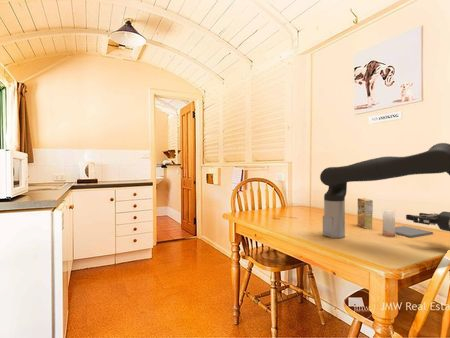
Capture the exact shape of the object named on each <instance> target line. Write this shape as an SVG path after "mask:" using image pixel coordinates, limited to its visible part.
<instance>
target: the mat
mask: <svg viewBox="0 0 450 338" xmlns="http://www.w3.org/2000/svg"><path fill="white" fill-rule="evenodd" d="M395 235H398V236H401V237H406V238H410V239H411V238H416V237H424V236H431V235H434V232H433V231H429V230H425V229H420V228H416V227H412V226H407V225H402V226H401V225H400V226H395Z"/></svg>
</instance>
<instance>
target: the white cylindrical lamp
mask: <svg viewBox="0 0 450 338" xmlns="http://www.w3.org/2000/svg"><path fill="white" fill-rule="evenodd" d="M395 227H396V210H393V209H383V210H382V236H384V237H388V238H389V237H390V238H394V237H396V234H395Z"/></svg>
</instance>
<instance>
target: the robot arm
mask: <svg viewBox="0 0 450 338" xmlns="http://www.w3.org/2000/svg"><path fill="white" fill-rule="evenodd" d="M442 173H443V174H444V173H447V174H448V175H449V176H450V143H446V142H440V143H439V142H438V143H436V144H433V145H432V146H430V148H428V150H427V151H423V152H421V153H416V154H411V155H407V156H380V157H376V158H375V157H374V158H371V159H370V158H369V159H367V160H362V161H359V162H356V163H352V164H348V165H343V166H329V167H326V168H324V169H323V170H322V171H321V172H320V174H319V178H320V181H321V183H322V184H323V185H325V186H328V190H327V191H326V192H325V193H324V196H323V205H324V206H323V215H322V235H323V236H325V237H327V238H330V239H333V238H334V239H340V238H341V239H342V238H345V237H346V235H345V234H346V220H345V219H346V211H345V210H346V207H345V206H346V204H345V203H346V200H345V199H346V195H347V188H348V187H347V186H348V185H347V184H348V183H349V182H350V183H351V182H373V181H381V180H382V181H384V180H388V179H396V178H401V177H406V176H413V175H425V174H426V175H427V174H430V175H431V174H432V175H433V174H442ZM405 219H406V220H408V221H412V222H413V223H414V224H416V223H417V224H422V225H427V226H429V225H433V226H436V225H437V227H438V229H440V230H441V231H444V232H450V211H441V212H439V213H435V212H434V213H424V212H419V214H418V215H415V214H406V215H405Z"/></svg>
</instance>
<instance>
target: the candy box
mask: <svg viewBox="0 0 450 338" xmlns="http://www.w3.org/2000/svg"><path fill="white" fill-rule="evenodd" d="M373 203H374V202H373V200H372V199H369V198H364V197H357V226H359V227H361V228H363V229H365V230H367V229H371V230H372V229H373V212H374V211H373Z"/></svg>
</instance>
